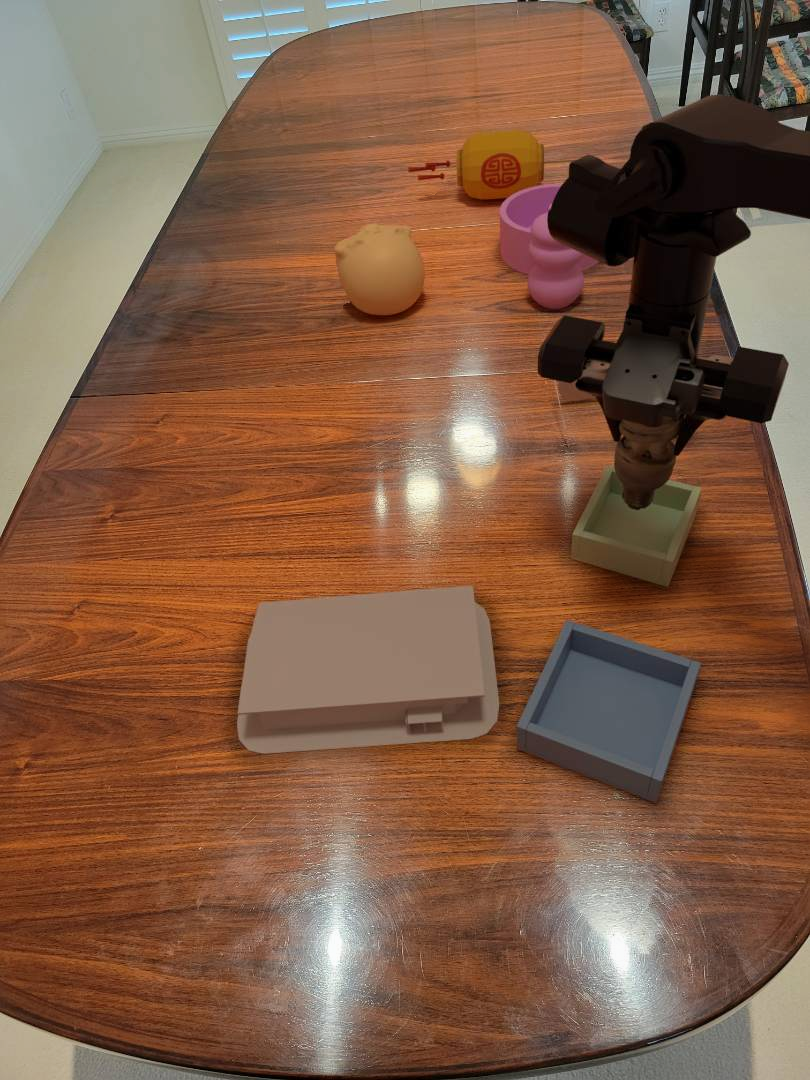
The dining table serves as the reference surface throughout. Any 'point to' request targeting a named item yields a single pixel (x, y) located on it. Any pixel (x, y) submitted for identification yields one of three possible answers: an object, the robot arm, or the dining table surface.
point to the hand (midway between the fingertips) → (646, 445)
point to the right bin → (635, 529)
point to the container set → (540, 248)
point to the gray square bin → (609, 709)
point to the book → (368, 671)
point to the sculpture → (381, 269)
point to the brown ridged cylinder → (645, 459)
